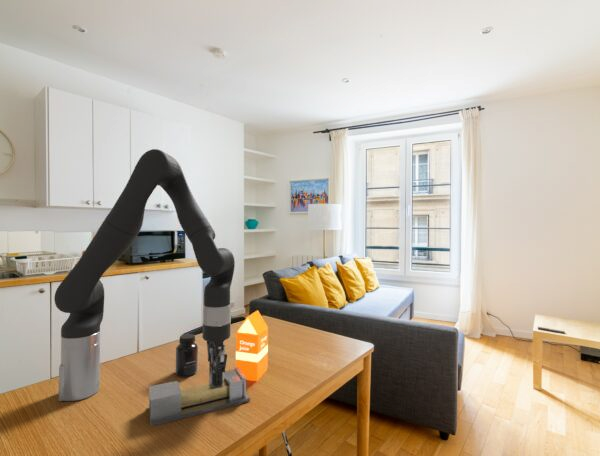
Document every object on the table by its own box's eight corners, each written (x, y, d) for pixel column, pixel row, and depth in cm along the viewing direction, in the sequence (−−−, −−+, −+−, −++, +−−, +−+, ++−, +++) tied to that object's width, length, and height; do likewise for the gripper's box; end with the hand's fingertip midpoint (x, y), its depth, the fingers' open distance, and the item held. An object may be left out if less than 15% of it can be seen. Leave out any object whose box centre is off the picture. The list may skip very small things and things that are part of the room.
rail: (150, 426, 77) (151, 399, 77) (148, 407, 85) (149, 383, 85) (249, 401, 89) (250, 378, 89) (240, 386, 97) (240, 365, 97)
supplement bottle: (190, 378, 101) (190, 340, 101) (171, 376, 103) (171, 339, 103) (201, 369, 108) (201, 333, 108) (183, 367, 110) (183, 332, 109)
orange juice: (267, 369, 109) (268, 310, 109) (257, 381, 100) (258, 317, 100) (246, 366, 111) (247, 308, 111) (234, 378, 102) (235, 315, 102)
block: (174, 409, 82) (174, 374, 82) (172, 402, 86) (172, 369, 85) (235, 394, 90) (235, 362, 90) (231, 388, 93) (231, 358, 93)
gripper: (198, 315, 93) (197, 374, 94) (208, 330, 81) (207, 398, 81) (223, 312, 97) (222, 369, 97) (237, 326, 84) (236, 391, 85)
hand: (215, 382), depth 89 cm, fingers closed on block, 3 cm apart
